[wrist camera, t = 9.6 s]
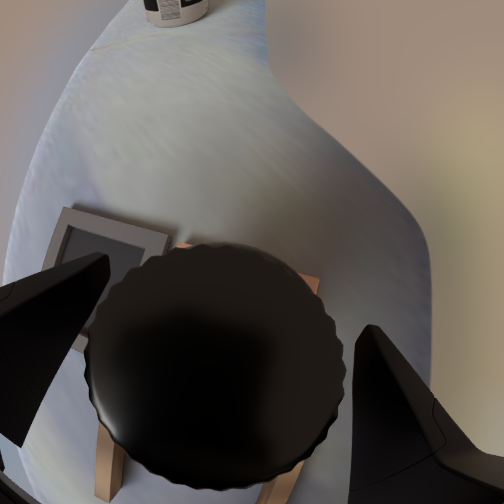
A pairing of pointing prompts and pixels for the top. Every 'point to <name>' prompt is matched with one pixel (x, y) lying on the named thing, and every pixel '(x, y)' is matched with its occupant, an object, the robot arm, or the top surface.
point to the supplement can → (174, 11)
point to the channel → (111, 469)
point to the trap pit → (101, 249)
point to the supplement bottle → (214, 366)
